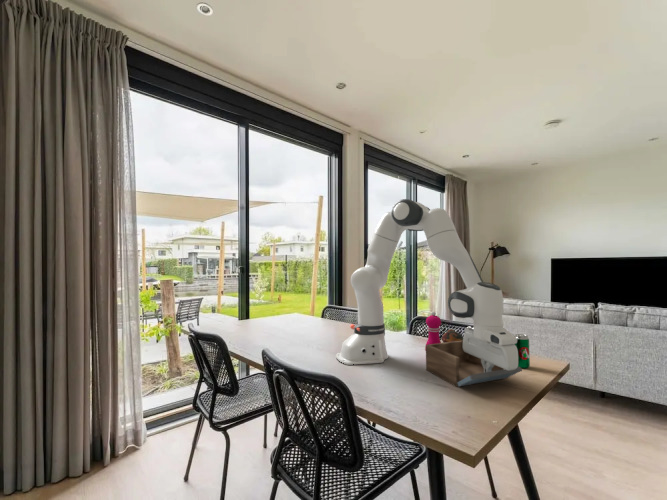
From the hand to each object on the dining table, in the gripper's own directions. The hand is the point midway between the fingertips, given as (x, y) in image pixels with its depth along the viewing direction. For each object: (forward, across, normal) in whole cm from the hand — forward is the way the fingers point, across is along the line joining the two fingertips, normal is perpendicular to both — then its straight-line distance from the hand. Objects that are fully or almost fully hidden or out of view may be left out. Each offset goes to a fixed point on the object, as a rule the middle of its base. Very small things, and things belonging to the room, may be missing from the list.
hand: (487, 373), depth 107 cm
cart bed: (+4, -11, 0) cm, 12 cm away
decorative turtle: (+6, -39, +19) cm, 44 cm away
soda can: (+4, -9, +26) cm, 28 cm away
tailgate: (+2, -3, 0) cm, 4 cm away
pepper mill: (+5, -28, 0) cm, 29 cm away
